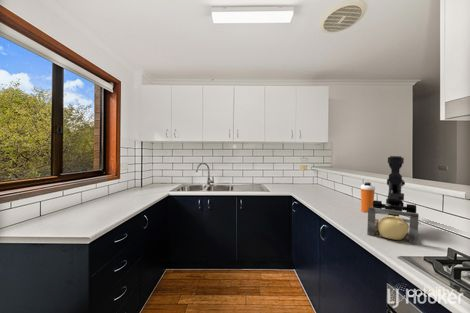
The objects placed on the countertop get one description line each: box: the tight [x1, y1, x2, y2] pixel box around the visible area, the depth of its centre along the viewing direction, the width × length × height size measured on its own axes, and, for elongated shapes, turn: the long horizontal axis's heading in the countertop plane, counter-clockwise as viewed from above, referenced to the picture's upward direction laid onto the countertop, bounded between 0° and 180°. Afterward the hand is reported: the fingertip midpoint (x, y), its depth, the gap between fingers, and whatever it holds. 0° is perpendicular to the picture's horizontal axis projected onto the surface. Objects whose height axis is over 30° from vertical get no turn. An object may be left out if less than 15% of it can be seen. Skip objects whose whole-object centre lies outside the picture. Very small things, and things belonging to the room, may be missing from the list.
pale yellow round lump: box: [377, 215, 410, 241], centre depth 118 cm, size 12×12×11 cm
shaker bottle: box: [360, 181, 376, 214], centre depth 171 cm, size 9×9×20 cm
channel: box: [366, 207, 419, 245], centre depth 124 cm, size 20×20×14 cm
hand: (392, 221), depth 123 cm, fingers closed
